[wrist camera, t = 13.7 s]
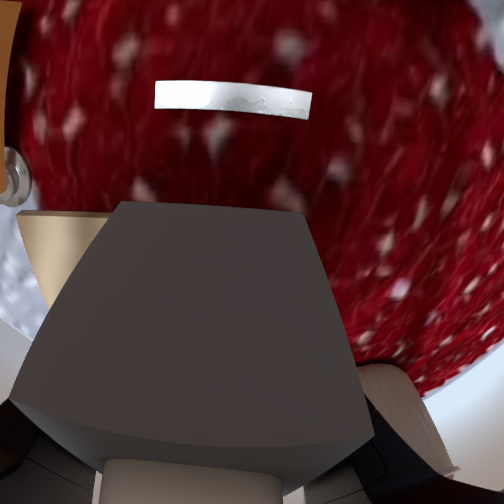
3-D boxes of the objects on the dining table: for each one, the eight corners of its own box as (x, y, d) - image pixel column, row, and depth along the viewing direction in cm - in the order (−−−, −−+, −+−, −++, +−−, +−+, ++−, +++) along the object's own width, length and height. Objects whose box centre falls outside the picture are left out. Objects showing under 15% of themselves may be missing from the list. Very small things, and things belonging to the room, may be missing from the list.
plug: (302, 212, 8) (394, 532, 2) (270, 349, 11) (287, 537, 5) (121, 200, 7) (-17, 484, 1) (145, 340, 11) (113, 524, 5)
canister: (257, 404, 35) (265, 556, 17) (360, 324, 26) (418, 541, 9) (350, 419, 40) (371, 532, 23) (440, 358, 32) (488, 490, 15)
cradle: (305, 90, 15) (313, 93, 13) (277, 257, 21) (279, 273, 20) (-18, 110, 12) (-33, 116, 11) (6, 237, 19) (-4, 249, 17)
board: (155, 214, 19) (152, 220, 18) (167, 332, 26) (166, 339, 25) (20, 210, 18) (15, 215, 17) (57, 316, 24) (55, 322, 24)
